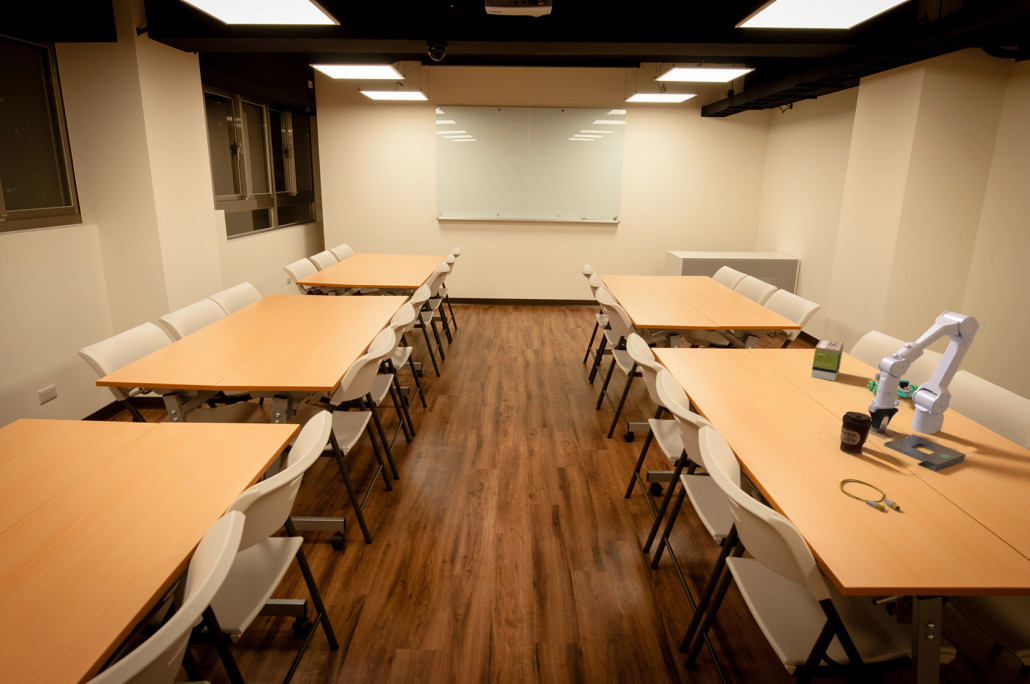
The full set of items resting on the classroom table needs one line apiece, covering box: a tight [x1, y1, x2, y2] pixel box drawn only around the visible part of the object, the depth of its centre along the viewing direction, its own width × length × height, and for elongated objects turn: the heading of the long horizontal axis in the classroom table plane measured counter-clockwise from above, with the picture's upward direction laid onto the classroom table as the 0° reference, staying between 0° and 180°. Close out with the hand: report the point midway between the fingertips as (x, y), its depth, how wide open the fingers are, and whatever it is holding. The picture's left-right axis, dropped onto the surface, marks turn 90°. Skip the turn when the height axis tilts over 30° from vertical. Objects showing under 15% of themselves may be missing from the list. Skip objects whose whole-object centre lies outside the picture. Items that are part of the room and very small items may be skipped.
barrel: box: [872, 415, 889, 433], centre depth 195 cm, size 4×4×6 cm
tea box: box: [810, 339, 844, 382], centre depth 255 cm, size 15×10×15 cm, turn 144°
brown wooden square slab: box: [868, 425, 902, 440], centre depth 196 cm, size 10×10×2 cm
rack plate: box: [883, 433, 966, 473], centre depth 181 cm, size 16×16×3 cm
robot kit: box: [867, 372, 919, 399], centre depth 229 cm, size 19×25×9 cm
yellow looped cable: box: [839, 478, 901, 512], centre depth 158 cm, size 12×16×2 cm
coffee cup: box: [839, 411, 873, 456], centre depth 182 cm, size 9×8×13 cm
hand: (879, 427), depth 196 cm, fingers closed on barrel, 4 cm apart
